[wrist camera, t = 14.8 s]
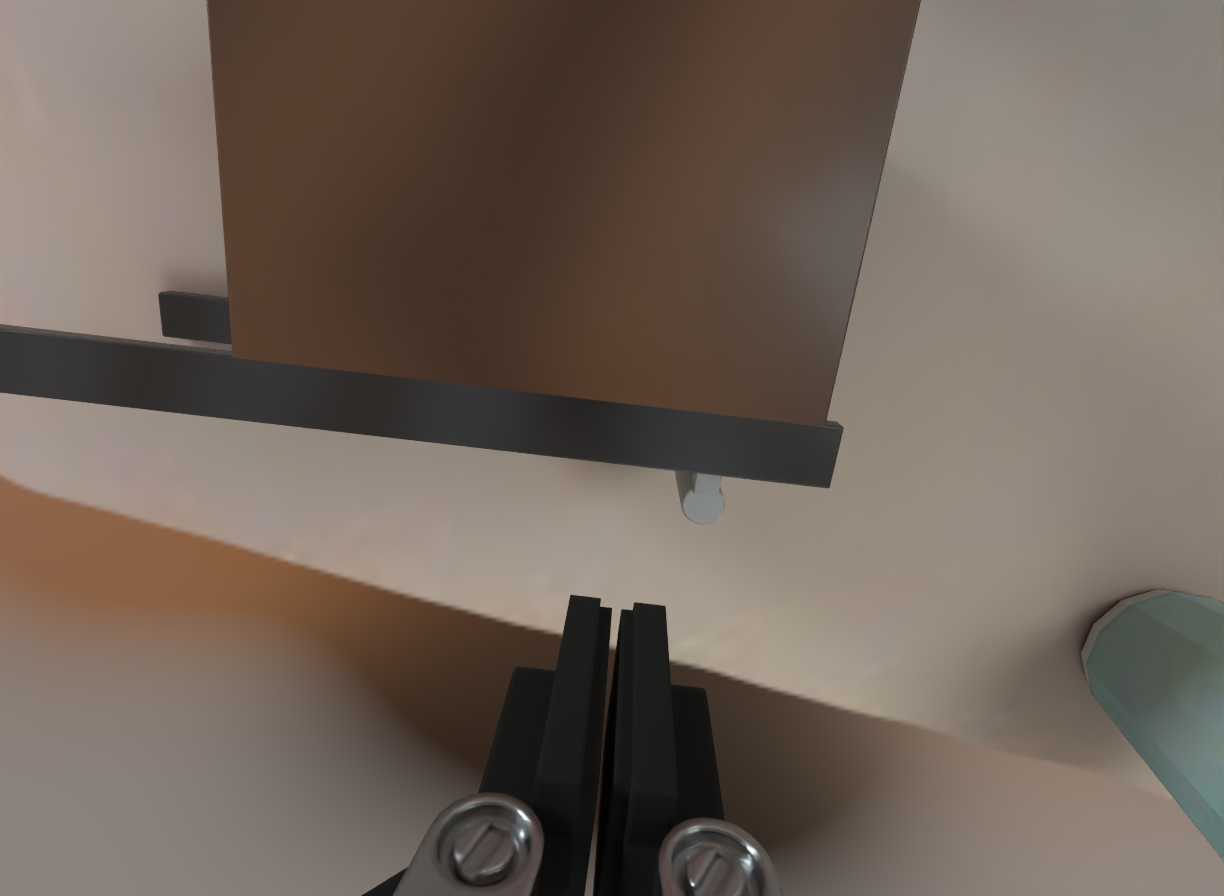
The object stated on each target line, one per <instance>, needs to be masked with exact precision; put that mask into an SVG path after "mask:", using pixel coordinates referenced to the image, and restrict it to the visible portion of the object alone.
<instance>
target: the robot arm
mask: <svg viewBox="0 0 1224 896" xmlns="http://www.w3.org/2000/svg"><path fill="white" fill-rule="evenodd" d="M600 602H601V598H593V597H585V596H576V595H570V600H569V605H568V610H567V616H566V621H565V626H564V631H563V637H562V642H561V647H560V653H559V657H558V663H557V668H556V671H552V670H544V669H537V668H527V667H520V666H516V667H515V669H514V671H513V674H512V678H511V681H510V685H509V688H508V692H507V695H506V699H505V702H504V705H503V709H502V712H501V716H500V719H499V723H498V726H497V730H496V734H495V737H494V740H493V744H492V747H491V751H490V754H489V758H488V761H487V764H486V768H485V772H484V775H483V778H482V782H481V785H480V789H479V792H478V793H477V794H471V795H468V796H466V797H463V798H461V799H459V800H456V801H454V802H453V803H452V804H450V805H449V806H448V807H446V808H445V809H444V810H443V811H441V812H440V813H439V815H438V816H437V817H436V819H435V820H434V821H433V823H432V824H431V826H430V827H429V829H428V830H427V833H426V834H425V836H424V838H423V840H422V842H421V844H420V846H419V847H418V849H417V851H416V853H415V855H414V857H413V859H412V860H411V863H410V864H409V866H408V867H407V868H406V869H404V870H402V871H401V872H399V873H398V874H396V875H395V876H393V877H391V878H389V879H388V880H386V881H385V882H383V883H381V884H380V885H378V886H376V887H375V888H373V889H372V890H370V891H368V892H367V893H365V894H363V895H362V896H584V893H585V885H586V878H587V871H588V863H589V856H590V848H591V840H592V833H593V825H594V817H595V810H596V802H597V794H598V785H599V774H600V762H601V749H602V735H603V722H604V709H605V695H606V682H607V681H606V680H607V669H608V655H609V642H610V628H611V615H612V608H607V607H600ZM604 739H605V740H604V749H603V761H602V777H601V790H600V804H599V818H598V832H597V846H596V861H595V874H594V888H593V896H784V894H783V891H782V888H781V886H780V883H779V880H778V877H777V874H776V872H775V869H774V867H773V865H772V863H771V861H770V859H769V857H768V855H767V854H766V851H765V850H764V849H763V848H762V847H761V846H760V845H759V844H758V842H757V841H756V840H755V839H754V838H753V837H752V836H750V835H749V834H748V833H746V832H745V831H743V830H742V829H740V828H739V827H738V826H736V825H733V824H731V823H728V822H725V820H724V813H723V806H722V799H721V792H720V785H719V778H718V771H717V764H716V757H715V750H714V743H713V736H712V729H711V722H710V715H709V708H708V702H707V696H706V691H705V689H704V688H697V687H688V686H680V685H672V684H671V682H670V666H669V651H668V636H667V621H666V608H665V606H661V605H653V604H644V603H636V602H635V603H634V607H633V611H632V610H624V609H622V610H621V616H620V624H619V631H618V639H617V646H616V654H615V662H614V669H613V677H612V684H611V692H610V700H609V707H608V715H607V722H606V730H605V738H604Z"/></svg>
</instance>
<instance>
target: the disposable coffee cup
mask: <svg viewBox="0 0 1224 896" xmlns="http://www.w3.org/2000/svg"><path fill="white" fill-rule="evenodd" d="M1081 656H1082V661H1083V665H1084V670H1085V675H1086V680H1087V681H1088V683H1089V684H1090V688H1091V693H1092V695H1093V696H1094V698H1095V699H1096V700H1097V701H1098V703H1099V704H1100V705H1101V706H1102V708H1103V709H1104V710H1105V711H1106V713H1107V714H1108V715H1109V717H1110V718H1111V719H1112V720H1113V722H1114V723H1115V724H1116V725H1117V727H1118V728H1119V729H1120V731H1121V732H1122V733H1123V734H1124V736H1125V737H1126V738H1127V739H1128V741H1129V742H1130V743H1131V745H1132V746H1133V747H1134V748H1135V750H1136V751H1137V752H1138V753H1139V755H1140V756H1141V757H1142V758H1143V760H1144V761H1145V762H1146V764H1147V765H1148V766H1149V767H1150V769H1151V770H1152V771H1153V772H1154V774H1155V775H1156V776H1157V778H1158V779H1159V780H1160V781H1161V783H1162V784H1163V785H1164V786H1165V788H1166V789H1167V790H1168V791H1169V793H1170V794H1171V795H1172V797H1173V798H1174V799H1175V800H1176V802H1177V803H1178V804H1179V805H1180V807H1181V808H1182V809H1183V811H1184V812H1185V813H1186V814H1187V816H1188V817H1189V818H1190V819H1191V821H1192V822H1193V823H1194V824H1195V826H1196V827H1197V828H1198V830H1199V831H1200V832H1201V833H1202V835H1203V836H1204V837H1205V838H1206V840H1207V841H1208V842H1209V844H1210V845H1211V846H1212V847H1213V849H1214V850H1215V851H1216V852H1217V854H1218V855H1219V856H1220V858H1221V859H1222V860H1223V861H1224V603H1223V602H1221V601H1218V600H1216V599H1213V598H1211V597H1206V596H1199V595H1192V594H1187V593H1180V592H1173V591H1166V590H1159V589H1156V590H1153V591H1150V592H1146V593H1143V594H1140V595H1137V596H1134V597H1130V598H1127V599H1124V600H1121V601H1120V602H1119V603H1118V604H1116V605H1115V606H1114V607H1113V608H1112V609H1111V610H1109V611H1108V612H1107V613H1106V614H1105V615H1104V616H1102V617H1101V618H1100V619H1099V620H1098V621H1096V622H1095V623H1094V624H1093V626H1092V629H1091V631H1090V633H1089V636H1088V638H1087V640H1086V643H1085V645H1084V647H1083V650H1082V652H1081Z"/></svg>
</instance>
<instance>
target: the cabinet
mask: <svg viewBox="0 0 1224 896" xmlns="http://www.w3.org/2000/svg"><path fill="white" fill-rule="evenodd" d="M920 2H921V0H207V11H208V24H209V38H210V52H211V65H212V79H213V92H214V106H215V120H216V133H217V147H218V161H219V174H220V188H221V202H222V215H223V229H224V242H225V256H226V270H227V283H228V297H229V298H227V297H218V296H210V295H201V294H193V293H184V292H176V291H167V292H160V293H159V294H158V295H159V305H160V314H161V323H162V333H163V336H165V337H173V338H181V339H190V340H199V341H207V342H216V343H224V344H232V351H226V350H218V349H209V348H200V347H192V346H183V345H175V344H166V343H158V342H149V341H140V340H132V339H123V338H115V337H106V336H97V335H89V334H80V333H72V332H63V331H55V330H46V329H37V328H29V327H20V326H12V325H3V324H0V393H9V394H18V395H26V396H35V397H44V398H52V399H61V400H70V401H78V402H87V403H95V404H104V405H113V406H121V407H130V408H139V409H147V410H156V411H164V412H173V413H182V414H190V415H199V416H208V417H216V418H225V419H234V420H242V421H251V422H259V423H268V424H277V425H285V426H294V427H303V428H311V429H320V430H329V431H337V432H346V433H354V434H363V435H372V436H380V437H389V438H398V439H406V440H415V441H424V442H432V443H441V444H449V445H458V446H467V447H475V448H484V449H493V450H501V451H510V452H519V453H527V454H536V455H544V456H553V457H562V458H570V459H579V460H588V461H596V462H605V463H613V464H622V465H631V466H639V467H648V468H657V469H665V470H674V471H683V472H691V473H700V474H708V475H717V476H726V477H734V478H743V479H752V480H760V481H769V482H778V483H786V484H795V485H803V486H812V487H821V488H829V487H830V484H831V479H832V475H833V471H834V467H835V462H836V458H837V454H838V450H839V445H840V441H841V437H842V433H843V427H842V426H841V425H840V424H839V423H838V422H835V421H827V415H828V411H829V406H830V402H831V397H832V393H833V389H834V384H835V380H836V375H837V371H838V366H839V362H840V357H841V353H842V349H843V344H844V340H845V335H846V331H847V326H848V322H849V318H850V313H851V309H852V304H853V300H854V295H855V291H856V286H857V282H858V278H859V273H860V269H861V264H862V260H863V255H864V251H865V247H866V242H867V238H868V233H869V229H870V224H871V220H872V215H873V211H874V207H875V202H876V198H877V193H878V189H879V184H880V180H881V175H882V171H883V167H884V162H885V158H886V153H887V149H888V144H889V140H890V136H891V131H892V127H893V122H894V118H895V113H896V109H897V104H898V100H899V96H900V91H901V87H902V82H903V78H904V73H905V69H906V65H907V60H908V56H909V51H910V47H911V42H912V38H913V33H914V29H915V25H916V20H917V16H918V11H919V7H920Z"/></svg>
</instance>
